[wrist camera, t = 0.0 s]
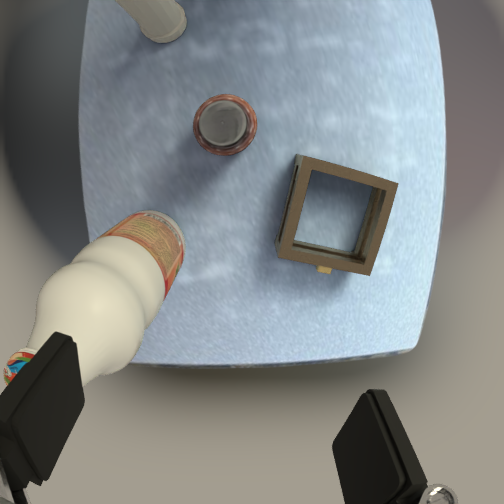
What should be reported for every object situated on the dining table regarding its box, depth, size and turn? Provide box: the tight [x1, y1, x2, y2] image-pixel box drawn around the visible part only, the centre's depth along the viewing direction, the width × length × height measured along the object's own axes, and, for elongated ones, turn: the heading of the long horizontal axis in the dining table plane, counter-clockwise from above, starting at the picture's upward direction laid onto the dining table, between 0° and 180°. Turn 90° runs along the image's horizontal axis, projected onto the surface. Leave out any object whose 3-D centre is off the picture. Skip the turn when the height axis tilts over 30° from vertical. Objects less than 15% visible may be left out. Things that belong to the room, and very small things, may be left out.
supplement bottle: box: [193, 94, 257, 156], centre depth 30 cm, size 6×6×11 cm
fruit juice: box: [4, 210, 186, 387], centre depth 27 cm, size 9×9×28 cm
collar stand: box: [275, 154, 398, 276], centre depth 37 cm, size 12×11×5 cm
